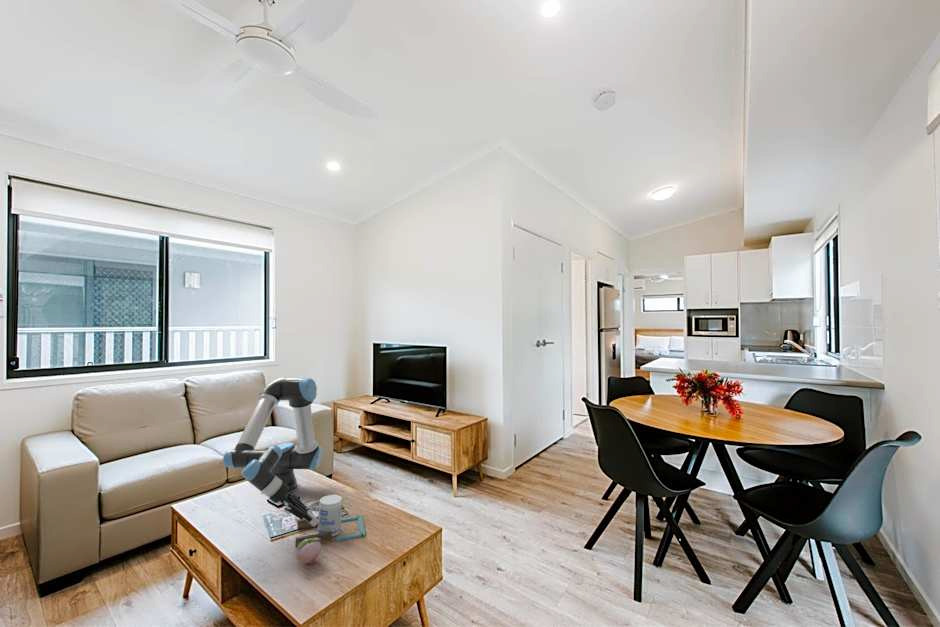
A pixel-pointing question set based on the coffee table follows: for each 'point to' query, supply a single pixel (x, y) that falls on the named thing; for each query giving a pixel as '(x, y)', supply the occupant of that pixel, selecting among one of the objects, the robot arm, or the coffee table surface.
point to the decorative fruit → (308, 550)
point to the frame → (350, 536)
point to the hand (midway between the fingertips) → (316, 523)
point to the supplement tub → (330, 514)
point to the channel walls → (323, 536)
